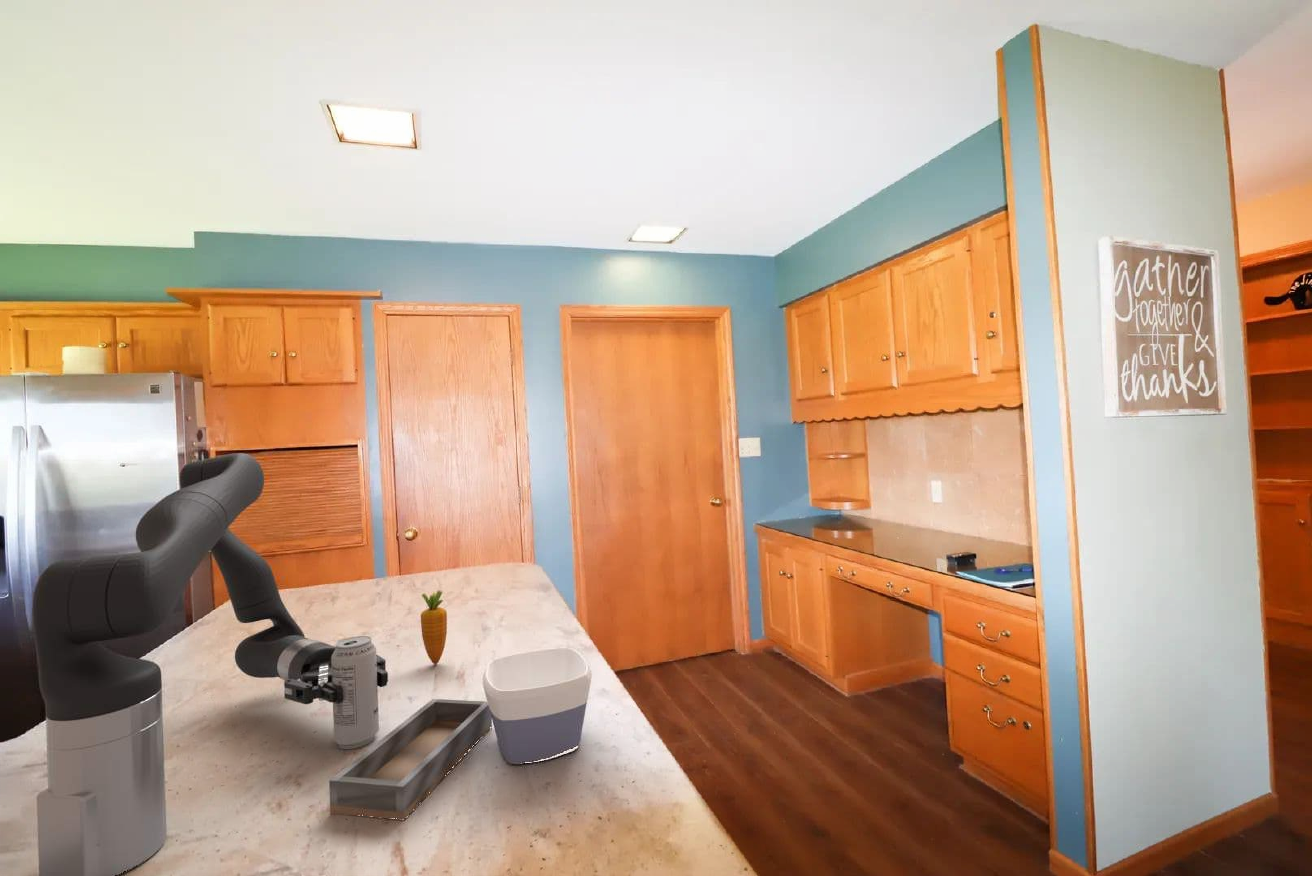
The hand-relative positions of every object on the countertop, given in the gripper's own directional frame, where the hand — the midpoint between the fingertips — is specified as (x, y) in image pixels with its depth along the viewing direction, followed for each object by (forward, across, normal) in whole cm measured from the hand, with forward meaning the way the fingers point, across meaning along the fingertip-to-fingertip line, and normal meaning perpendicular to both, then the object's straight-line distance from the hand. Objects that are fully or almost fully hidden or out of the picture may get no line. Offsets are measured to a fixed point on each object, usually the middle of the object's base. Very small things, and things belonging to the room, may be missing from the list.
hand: (363, 687), depth 85 cm
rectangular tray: (+12, +1, +8) cm, 15 cm away
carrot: (-19, +24, +9) cm, 32 cm away
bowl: (+22, +14, +9) cm, 28 cm away
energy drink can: (-2, 0, +9) cm, 9 cm away
